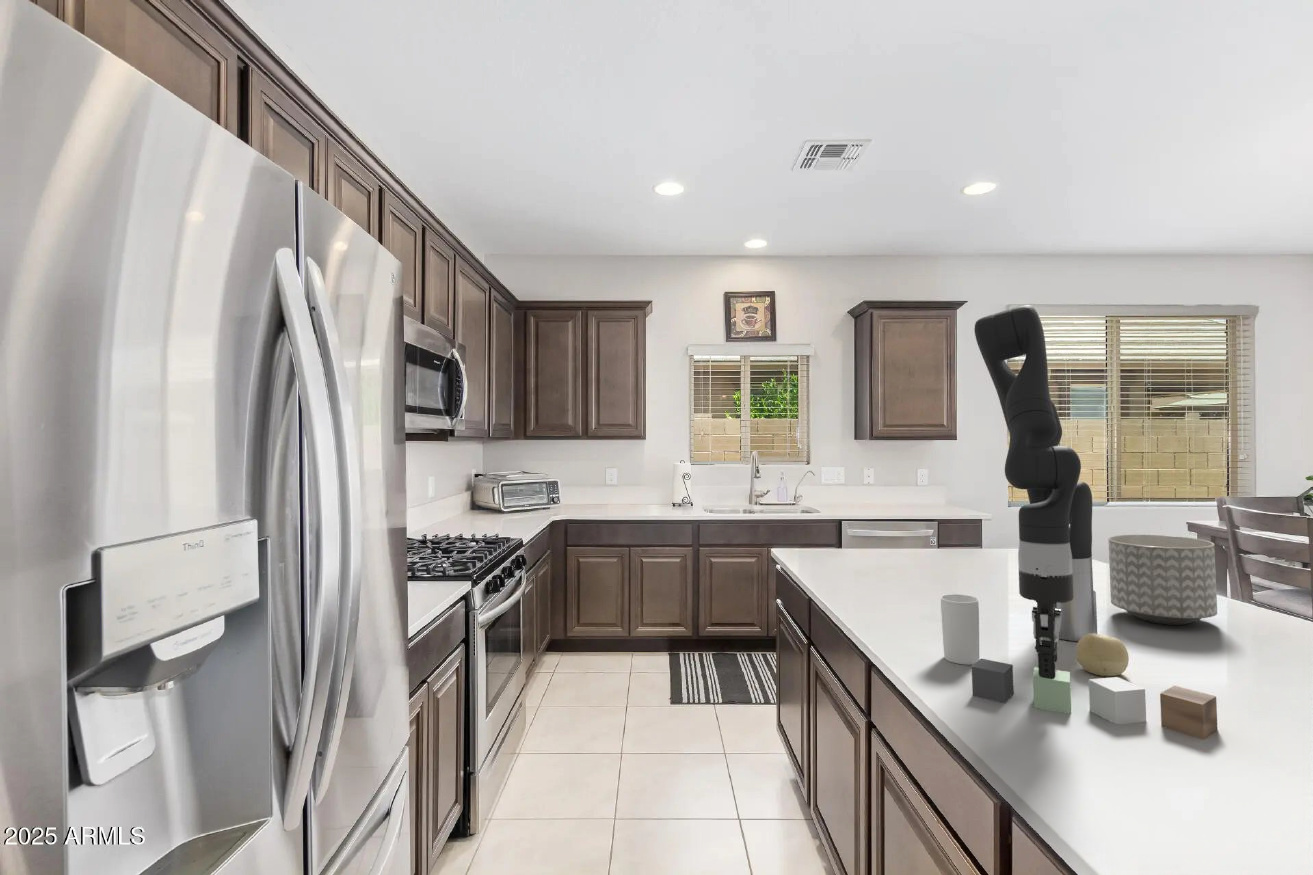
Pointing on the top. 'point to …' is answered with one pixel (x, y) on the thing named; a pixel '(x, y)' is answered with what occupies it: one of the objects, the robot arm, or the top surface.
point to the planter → (1163, 577)
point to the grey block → (1117, 700)
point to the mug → (960, 628)
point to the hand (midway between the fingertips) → (1048, 669)
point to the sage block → (1052, 691)
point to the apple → (1102, 655)
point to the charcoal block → (992, 680)
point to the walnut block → (1188, 712)
